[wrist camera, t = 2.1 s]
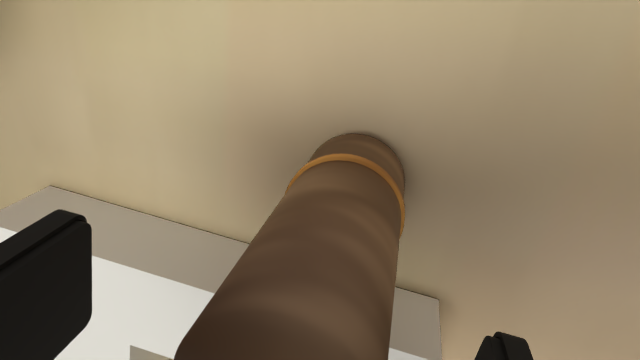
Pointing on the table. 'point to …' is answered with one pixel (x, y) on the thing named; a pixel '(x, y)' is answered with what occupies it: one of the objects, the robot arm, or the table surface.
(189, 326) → the board
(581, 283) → the table surface
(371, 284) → the peg
